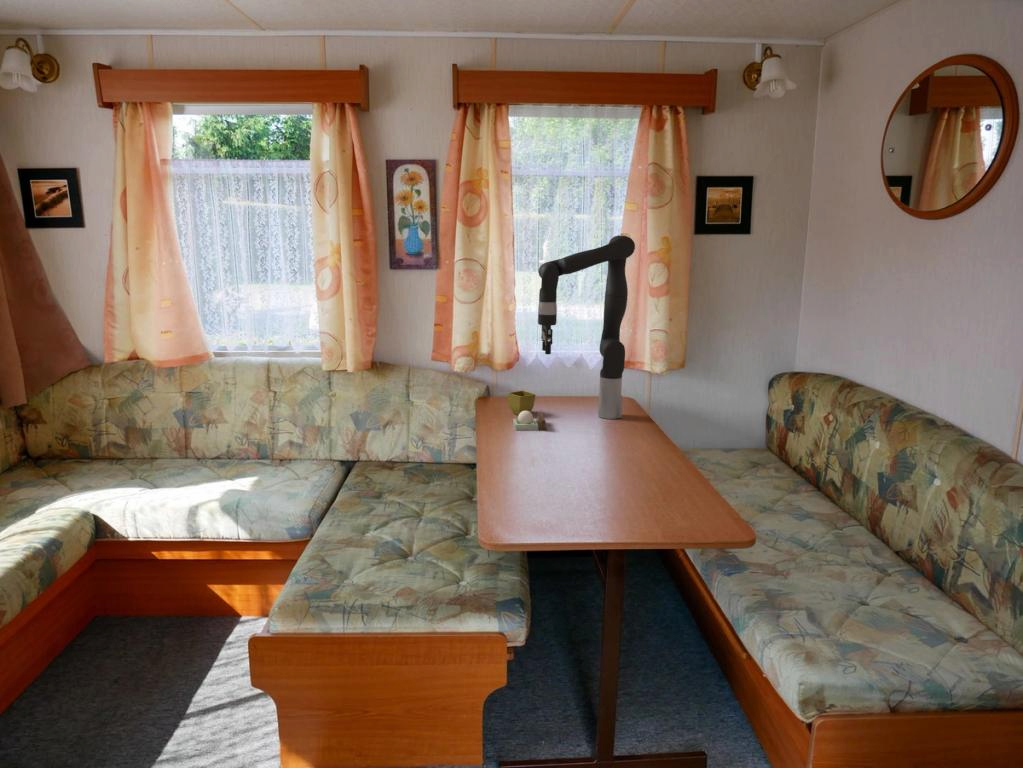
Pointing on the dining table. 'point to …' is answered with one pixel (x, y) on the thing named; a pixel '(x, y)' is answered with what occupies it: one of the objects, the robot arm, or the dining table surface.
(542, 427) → the rail
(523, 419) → the ball
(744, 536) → the dining table surface
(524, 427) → the dish
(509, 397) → the flower pot
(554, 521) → the dining table surface
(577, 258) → the robot arm
